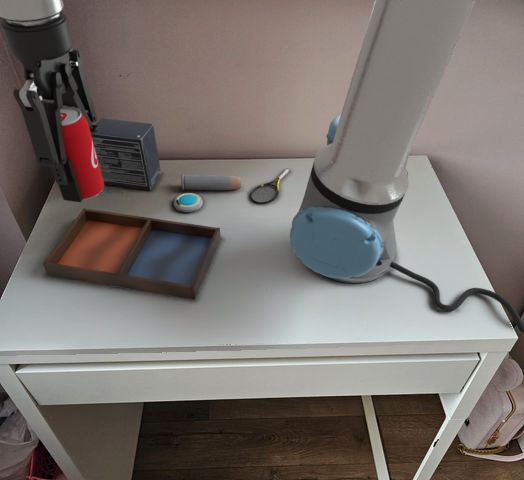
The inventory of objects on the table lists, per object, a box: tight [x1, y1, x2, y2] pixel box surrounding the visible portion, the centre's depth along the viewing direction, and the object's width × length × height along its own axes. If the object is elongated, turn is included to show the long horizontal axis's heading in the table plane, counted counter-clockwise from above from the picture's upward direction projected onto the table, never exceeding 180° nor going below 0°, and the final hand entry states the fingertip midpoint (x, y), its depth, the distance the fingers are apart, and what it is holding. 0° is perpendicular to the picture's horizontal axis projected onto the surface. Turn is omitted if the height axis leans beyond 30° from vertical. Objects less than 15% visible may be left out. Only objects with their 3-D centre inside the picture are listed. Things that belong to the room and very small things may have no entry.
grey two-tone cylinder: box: [180, 173, 242, 191], centre depth 99 cm, size 11×3×3 cm
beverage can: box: [60, 106, 105, 201], centre depth 75 cm, size 6×6×12 cm
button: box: [173, 192, 204, 213], centre depth 96 cm, size 5×5×1 cm
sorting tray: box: [42, 207, 222, 301], centre depth 87 cm, size 25×15×2 cm, turn 77°
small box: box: [91, 117, 162, 191], centre depth 98 cm, size 11×6×10 cm, turn 77°
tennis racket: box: [250, 168, 290, 205], centre depth 101 cm, size 12×1×5 cm
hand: (83, 186), depth 79 cm, fingers closed on beverage can, 6 cm apart
